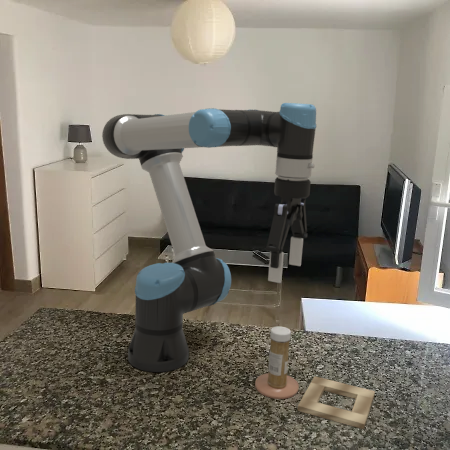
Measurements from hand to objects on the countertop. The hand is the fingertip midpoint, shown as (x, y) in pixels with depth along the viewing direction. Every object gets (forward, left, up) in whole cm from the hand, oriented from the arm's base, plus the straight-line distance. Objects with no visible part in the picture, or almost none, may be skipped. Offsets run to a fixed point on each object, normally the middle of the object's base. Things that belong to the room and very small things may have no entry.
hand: (285, 272), depth 116 cm
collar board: (+15, -2, -27) cm, 31 cm away
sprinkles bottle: (0, -2, -27) cm, 27 cm away
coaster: (+1, -2, -27) cm, 27 cm away
